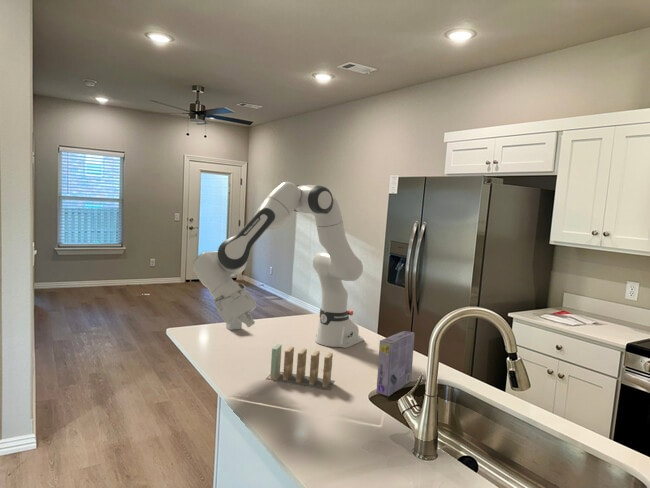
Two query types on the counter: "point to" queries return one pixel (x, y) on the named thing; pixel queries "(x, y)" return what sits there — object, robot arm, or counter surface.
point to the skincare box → (234, 325)
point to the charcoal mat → (304, 382)
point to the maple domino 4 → (327, 370)
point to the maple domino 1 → (288, 363)
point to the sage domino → (275, 361)
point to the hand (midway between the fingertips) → (251, 325)
